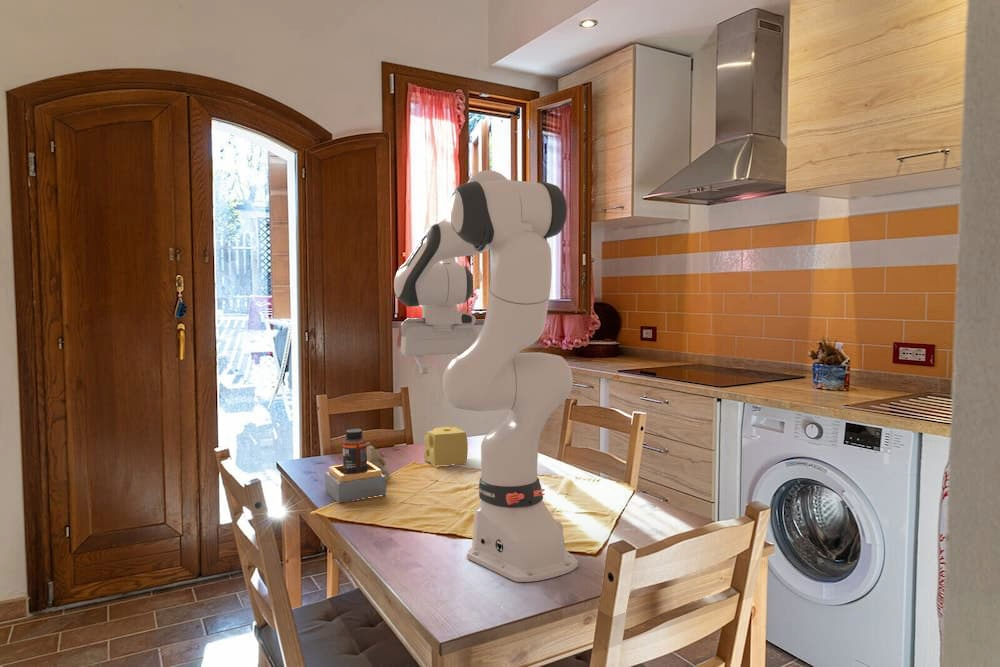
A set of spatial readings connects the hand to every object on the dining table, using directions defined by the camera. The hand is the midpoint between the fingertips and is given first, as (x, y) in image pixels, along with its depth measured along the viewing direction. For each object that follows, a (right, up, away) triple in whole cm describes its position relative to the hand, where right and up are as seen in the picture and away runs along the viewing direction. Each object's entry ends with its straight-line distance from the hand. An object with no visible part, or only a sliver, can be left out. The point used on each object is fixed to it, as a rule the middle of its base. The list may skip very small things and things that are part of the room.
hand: (440, 372), depth 164 cm
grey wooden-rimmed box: (-22, -31, +3) cm, 38 cm away
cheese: (-2, -29, +33) cm, 44 cm away
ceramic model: (-22, -31, +18) cm, 42 cm away
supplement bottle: (-22, -26, +2) cm, 34 cm away
